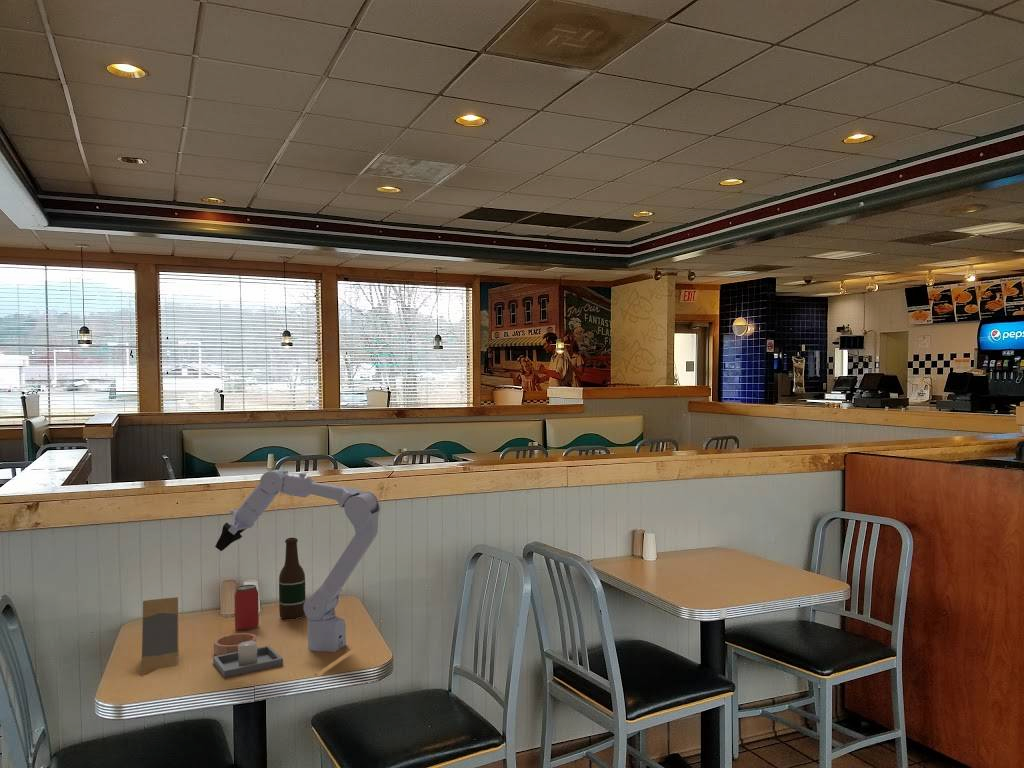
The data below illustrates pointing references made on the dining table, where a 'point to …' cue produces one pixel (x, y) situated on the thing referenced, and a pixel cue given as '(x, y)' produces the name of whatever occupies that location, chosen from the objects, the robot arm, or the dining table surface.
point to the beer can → (246, 608)
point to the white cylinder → (247, 653)
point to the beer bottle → (291, 584)
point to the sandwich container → (159, 634)
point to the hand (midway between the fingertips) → (223, 543)
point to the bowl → (231, 643)
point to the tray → (230, 667)
